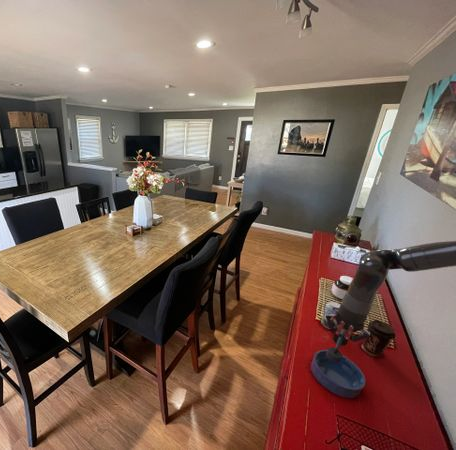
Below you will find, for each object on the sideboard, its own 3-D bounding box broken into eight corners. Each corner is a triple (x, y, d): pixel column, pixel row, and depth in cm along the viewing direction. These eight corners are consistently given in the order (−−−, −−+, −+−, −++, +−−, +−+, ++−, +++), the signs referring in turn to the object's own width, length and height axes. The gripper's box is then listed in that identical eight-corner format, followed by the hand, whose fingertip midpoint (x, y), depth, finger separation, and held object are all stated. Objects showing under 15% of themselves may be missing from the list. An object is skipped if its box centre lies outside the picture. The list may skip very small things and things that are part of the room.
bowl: (363, 378, 88) (368, 369, 86) (356, 409, 78) (361, 399, 76) (316, 352, 98) (320, 343, 96) (305, 376, 88) (308, 367, 86)
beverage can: (323, 330, 109) (331, 309, 104) (317, 318, 116) (324, 298, 111) (338, 333, 108) (347, 312, 103) (332, 321, 114) (340, 301, 110)
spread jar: (332, 299, 129) (339, 281, 125) (326, 287, 139) (332, 270, 135) (359, 304, 126) (367, 286, 121) (350, 291, 136) (358, 274, 131)
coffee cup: (361, 338, 105) (372, 315, 100) (386, 351, 100) (399, 327, 95) (356, 348, 100) (367, 325, 95) (382, 362, 94) (395, 338, 89)
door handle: (339, 365, 84) (345, 350, 81) (324, 356, 87) (330, 342, 84) (347, 340, 94) (353, 327, 91) (334, 333, 97) (339, 320, 94)
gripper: (329, 301, 84) (315, 337, 91) (380, 322, 75) (360, 361, 82) (334, 292, 89) (320, 327, 96) (382, 311, 80) (363, 348, 87)
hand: (339, 342), depth 89 cm, fingers closed on door handle, 1 cm apart
